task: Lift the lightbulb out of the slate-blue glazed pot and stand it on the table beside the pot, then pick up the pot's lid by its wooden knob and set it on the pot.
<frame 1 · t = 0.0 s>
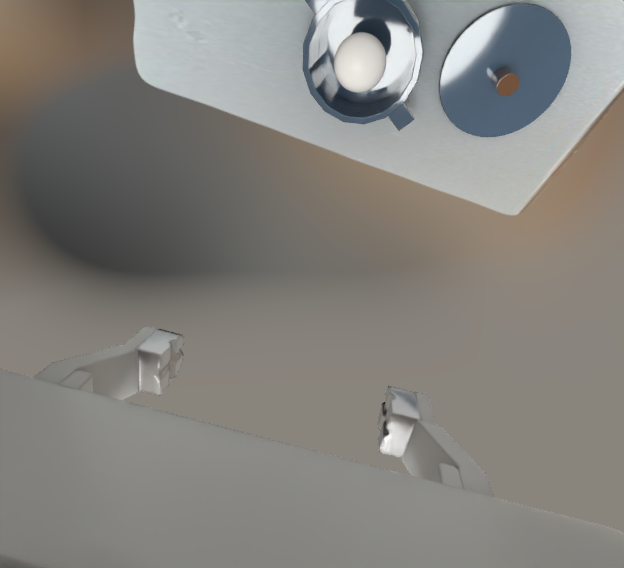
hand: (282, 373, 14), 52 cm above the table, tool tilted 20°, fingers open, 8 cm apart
lightbulb: (365, 51, 51), resting on pot
lid: (501, 76, 50), point 1 cm above the table
pot: (365, 51, 51), on the table
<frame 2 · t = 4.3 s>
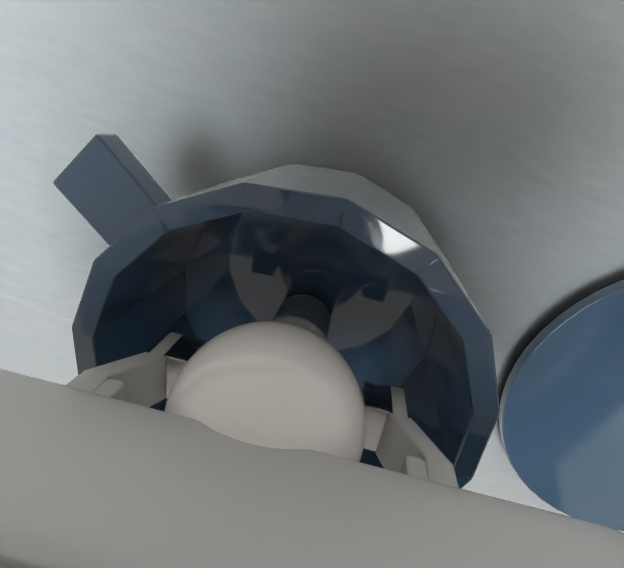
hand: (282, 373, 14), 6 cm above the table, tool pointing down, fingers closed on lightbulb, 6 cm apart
lightbulb: (306, 311, 19), resting on pot, touching gripper
pot: (305, 310, 20), on the table
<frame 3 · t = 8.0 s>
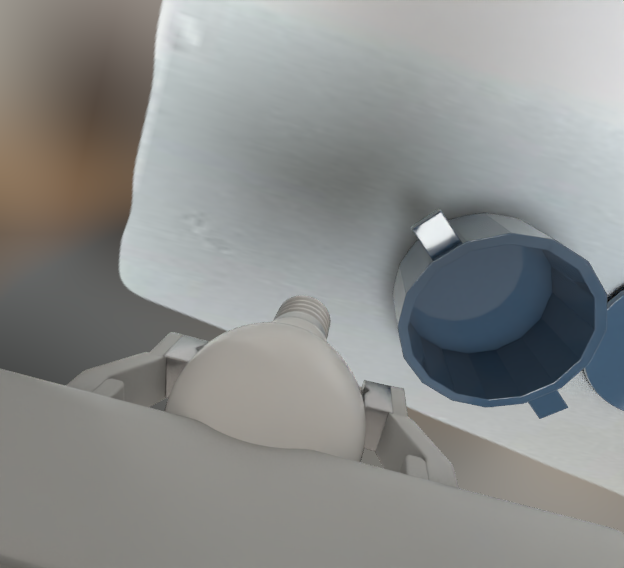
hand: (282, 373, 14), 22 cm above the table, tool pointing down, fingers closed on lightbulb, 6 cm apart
lightbulb: (306, 312, 19), point 17 cm above the table, touching gripper
pot: (473, 291, 35), on the table
when the fingers open (5 cm above the table, at t = 12.2 s): lightbulb stays where it is, on the table.
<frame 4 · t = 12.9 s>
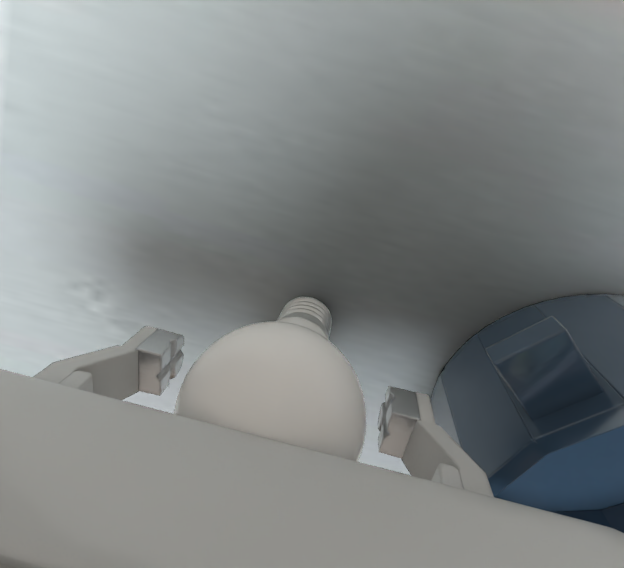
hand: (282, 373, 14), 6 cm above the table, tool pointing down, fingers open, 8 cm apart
lightbulb: (308, 312, 20), on the table
pot: (569, 418, 20), on the table
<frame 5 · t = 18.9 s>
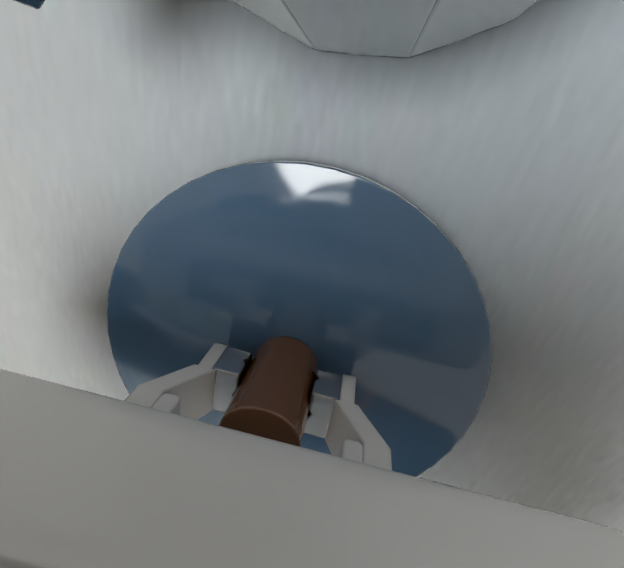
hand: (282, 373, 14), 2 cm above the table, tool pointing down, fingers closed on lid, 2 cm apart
lid: (289, 355, 16), point 1 cm above the table, touching gripper
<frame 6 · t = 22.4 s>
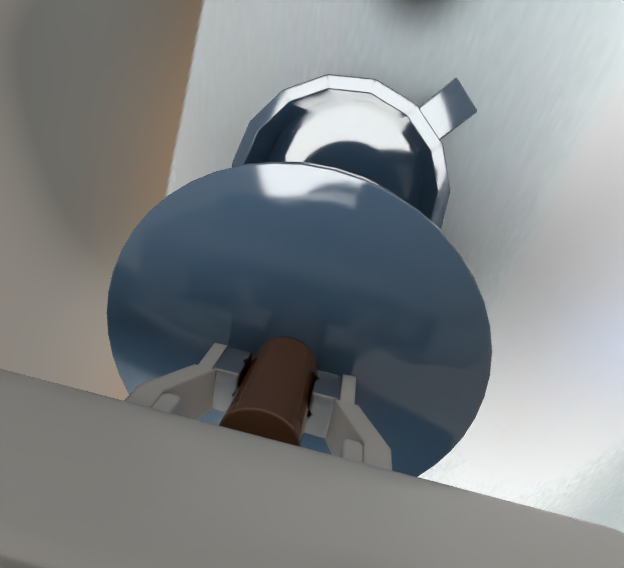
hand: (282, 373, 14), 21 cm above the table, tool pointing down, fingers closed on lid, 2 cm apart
lid: (289, 355, 16), point 20 cm above the table, touching gripper
pot: (342, 184, 32), on the table
when the fingers open (8 cm above the table, at t = 26.0 s): lid stays where it is, resting on pot.
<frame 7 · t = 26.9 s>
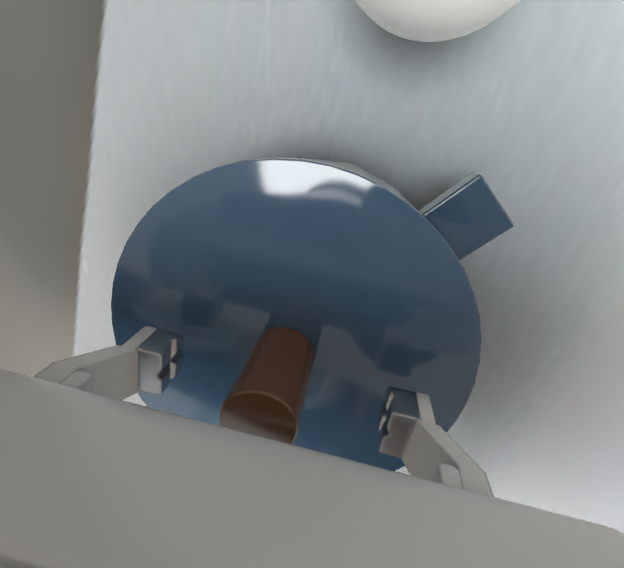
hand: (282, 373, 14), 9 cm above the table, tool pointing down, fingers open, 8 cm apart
lid: (287, 345, 16), point 7 cm above the table, touching pot
pot: (312, 283, 23), on the table
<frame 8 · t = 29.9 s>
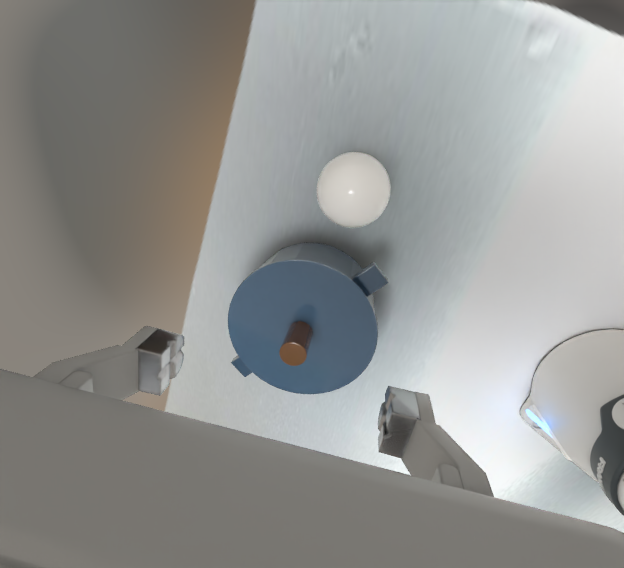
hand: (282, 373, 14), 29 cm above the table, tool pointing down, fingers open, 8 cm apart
lightbulb: (356, 179, 40), on the table
lid: (301, 329, 39), point 7 cm above the table, touching pot
pot: (312, 300, 45), on the table
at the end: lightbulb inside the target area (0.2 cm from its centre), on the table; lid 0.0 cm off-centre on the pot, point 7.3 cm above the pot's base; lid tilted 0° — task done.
